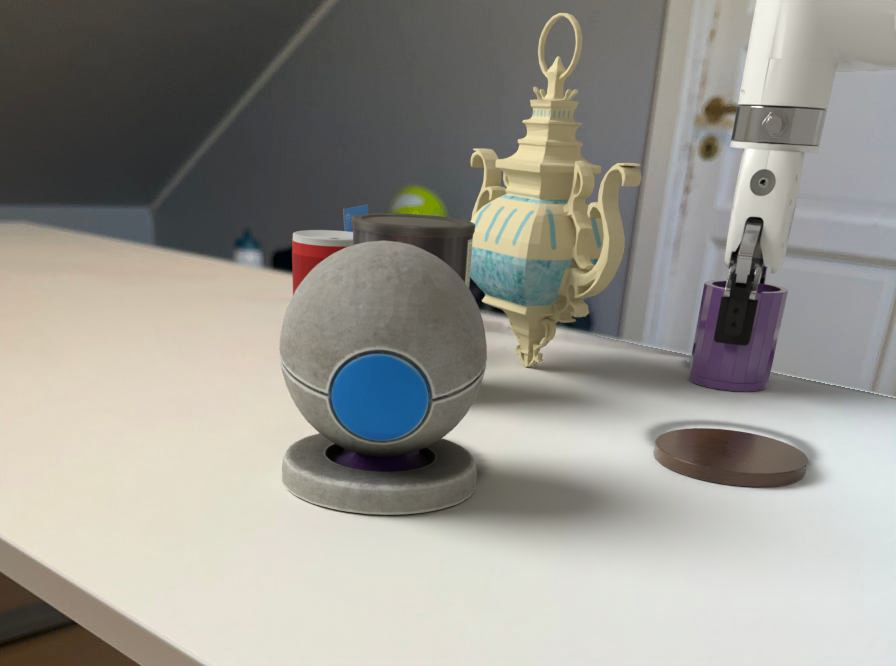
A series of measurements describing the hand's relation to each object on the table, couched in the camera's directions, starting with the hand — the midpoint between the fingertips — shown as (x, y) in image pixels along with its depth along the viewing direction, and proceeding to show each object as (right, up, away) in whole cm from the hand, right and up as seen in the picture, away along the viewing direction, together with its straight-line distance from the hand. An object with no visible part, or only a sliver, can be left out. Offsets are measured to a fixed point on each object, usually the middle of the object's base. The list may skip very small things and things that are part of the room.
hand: (736, 334), depth 94 cm
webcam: (-33, -19, -28) cm, 48 cm away
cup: (0, -4, +2) cm, 5 cm away
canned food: (-40, +1, +7) cm, 40 cm away
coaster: (-8, -16, -21) cm, 28 cm away
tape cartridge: (-36, +8, +21) cm, 43 cm away
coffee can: (-32, -7, -6) cm, 33 cm away
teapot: (-20, -2, +4) cm, 20 cm away
